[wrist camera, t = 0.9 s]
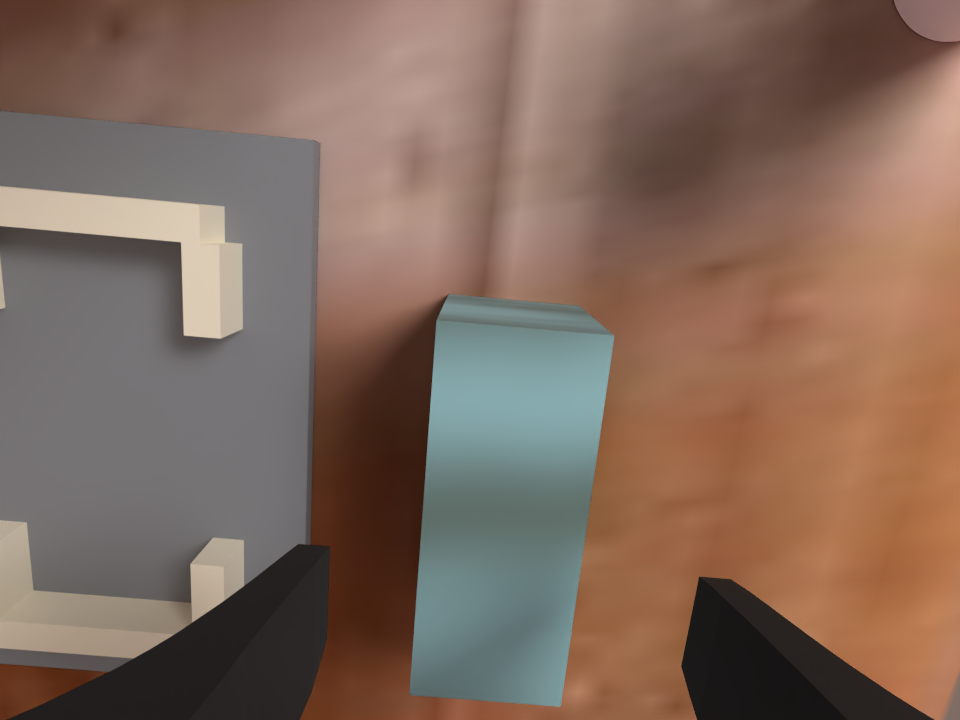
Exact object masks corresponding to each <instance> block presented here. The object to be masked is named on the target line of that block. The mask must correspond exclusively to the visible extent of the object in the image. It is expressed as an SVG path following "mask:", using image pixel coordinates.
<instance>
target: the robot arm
mask: <svg viewBox="0 0 960 720" xmlns="http://www.w3.org/2000/svg"><path fill="white" fill-rule="evenodd" d="M329 558H330V547H329V546H317V545H305V544H298V545H296V546H295V547H294V548H292V549H291V550H290V551H288V552H287V553H286V554H285V555H283V556H282V557H281V558H279V559H278V560H277V561H276V562H274V563H273V564H272V565H270V566H269V567H268V568H267V569H265V570H264V571H263V572H261V573H260V574H259V575H258V576H256V577H255V578H254V579H252V580H251V581H250V582H249V583H247V584H246V585H245V586H243V587H242V588H241V589H239V590H238V591H237V592H235V593H234V594H233V595H231V596H230V597H229V598H227V599H226V600H225V601H223V602H222V603H220V604H219V605H217V606H216V607H214V608H213V609H211V610H210V611H208V612H207V613H205V614H204V615H203V616H201V617H200V618H198V619H197V620H195V621H194V622H192V623H191V624H189V625H188V626H186V627H185V628H183V629H182V630H181V631H179V632H177V633H176V634H174V635H173V636H171V637H169V638H168V639H166V640H165V641H163V642H161V643H160V644H158V645H156V646H155V647H153V648H151V649H150V650H148V651H146V652H144V653H142V654H141V655H139V656H137V657H135V658H134V659H132V660H130V661H128V662H126V663H125V664H123V665H121V666H119V667H117V668H116V669H114V670H112V671H110V672H108V673H106V674H104V675H102V676H100V677H98V678H96V679H94V680H92V681H90V682H87V683H85V684H83V685H81V686H79V687H77V688H75V689H73V690H71V691H69V692H67V693H65V694H63V695H61V696H59V697H57V698H55V699H53V700H51V701H48V702H46V703H44V704H42V705H40V706H38V707H35V708H33V709H31V710H28V711H26V712H24V713H21V714H19V715H17V716H14V717H12V718H10V719H7V720H300V718H301V715H302V713H303V711H304V708H305V706H306V703H307V701H308V698H309V696H310V694H311V691H312V688H313V685H314V681H315V678H316V675H317V671H318V668H319V665H320V661H321V657H322V654H323V650H324V647H325V643H326V640H327V620H328V589H329ZM682 670H683V673H684V677H685V681H686V684H687V688H688V691H689V695H690V698H691V701H692V704H693V708H694V711H695V714H696V717H697V720H934V719H932V718H930V717H929V716H927V715H925V714H924V713H922V712H920V711H919V710H917V709H915V708H914V707H912V706H911V705H909V704H907V703H906V702H904V701H903V700H901V699H900V698H898V697H896V696H895V695H893V694H892V693H890V692H889V691H887V690H886V689H884V688H883V687H881V686H880V685H878V684H877V683H875V682H874V681H872V680H871V679H869V678H868V677H866V676H865V675H863V674H862V673H860V672H859V671H858V670H856V669H855V668H853V667H852V666H850V665H849V664H847V663H846V662H845V661H843V660H842V659H840V658H839V657H837V656H836V655H835V654H833V653H832V652H830V651H829V650H828V649H826V648H825V647H824V646H822V645H821V644H819V643H818V642H817V641H815V640H814V639H813V638H811V637H810V636H809V635H807V634H806V633H804V632H803V631H802V630H800V629H799V628H798V627H796V626H795V625H794V624H792V623H791V622H790V621H788V620H787V619H786V618H784V617H783V616H782V615H780V614H779V613H778V612H776V611H775V610H774V609H772V608H771V607H770V606H768V605H767V604H766V603H764V602H763V601H761V600H760V599H759V598H757V597H756V596H755V595H753V594H752V593H750V592H749V591H748V590H746V589H745V588H743V587H742V586H740V585H739V584H737V583H735V582H734V581H732V580H731V579H720V578H708V577H699V581H698V586H697V591H696V596H695V601H694V606H693V611H692V616H691V621H690V626H689V631H688V636H687V641H686V646H685V651H684V656H683V661H682Z"/></svg>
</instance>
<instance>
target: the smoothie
mask: <svg viewBox="0 0 960 720" xmlns="http://www.w3.org/2000/svg"><path fill="white" fill-rule="evenodd" d="M894 3H895V6H896V8H897V10H898V12H899V14H900V16H901V17H902V19H903V20H904V22H905V23H906V24H907V25H908V26H909V27H910V28H911V29H912V30H913V31H915V32H916V33H918V34H919V35H921V36H923V37H925V38H928V39H930V40H934V41H940V42H956V41H960V0H894Z"/></svg>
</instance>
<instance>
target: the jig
mask: <svg viewBox="0 0 960 720" xmlns="http://www.w3.org/2000/svg"><path fill="white" fill-rule="evenodd" d="M319 170H320V143H319V142H317V141H315V140H307V139H296V138H285V137H275V136H264V135H253V134H242V133H232V132H221V131H210V130H200V129H189V128H178V127H168V126H157V125H146V124H136V123H125V122H114V121H103V120H93V119H82V118H71V117H61V116H50V115H39V114H29V113H18V112H7V111H0V664H13V665H26V666H39V667H51V668H64V669H77V670H90V671H103V672H110V671H112V670H114V669H116V668H117V667H119V666H121V665H123V664H125V663H126V662H128V661H130V660H132V659H134V658H135V657H137V656H139V655H141V654H142V653H144V652H146V651H148V650H150V649H151V648H153V647H155V646H156V645H158V644H160V643H161V642H163V641H165V640H166V639H168V638H169V637H171V636H173V635H174V634H176V633H177V632H179V631H181V630H182V629H183V628H185V627H186V626H188V625H189V624H191V623H192V622H194V621H195V620H197V619H198V618H200V617H201V616H203V615H204V614H205V613H207V612H208V611H210V610H211V609H213V608H214V607H216V606H217V605H219V604H220V603H222V602H223V601H225V600H226V599H227V598H229V597H230V596H231V595H233V594H234V593H235V592H237V591H238V590H239V589H241V588H242V587H243V586H245V585H246V584H247V583H249V582H250V581H251V580H252V579H254V578H255V577H256V576H258V575H259V574H260V573H261V572H263V571H264V570H265V569H267V568H268V567H269V566H270V565H272V564H273V563H274V562H276V561H277V560H278V559H279V558H281V557H282V556H283V555H285V554H286V553H287V552H288V551H290V550H291V549H292V548H294V547H295V546H296V545H298V544H305V545H310V542H311V500H312V459H313V418H314V376H315V335H316V294H317V253H318V211H319Z"/></svg>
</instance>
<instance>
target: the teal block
mask: <svg viewBox="0 0 960 720" xmlns="http://www.w3.org/2000/svg"><path fill="white" fill-rule="evenodd" d="M613 342H614V335H613V334H612V333H610V332H609V331H608V330H607V329H606V328H605V327H603V326H602V325H601V324H600V323H599V322H598V321H596V320H595V319H594V318H593V317H592V316H590V315H589V314H588V313H587V312H586V311H585V310H583V309H582V308H581V307H580V306H576V305H564V304H553V303H542V302H531V301H519V300H508V299H497V298H486V297H475V296H463V295H452V294H448V297H447V299H446V301H445V303H444V305H443V307H442V310H441V312H440V314H439V316H438V318H437V321H436V335H435V349H434V362H433V376H432V390H431V404H430V418H429V432H428V445H427V459H426V473H425V487H424V501H423V514H422V528H421V542H420V556H419V570H418V583H417V597H416V611H415V625H414V639H413V653H412V666H411V680H410V694H409V695H416V696H429V697H442V698H455V699H468V700H481V701H494V702H507V703H520V704H533V705H546V706H559V707H561V701H562V694H563V687H564V680H565V673H566V666H567V659H568V653H569V646H570V639H571V632H572V625H573V618H574V611H575V604H576V597H577V590H578V584H579V577H580V570H581V563H582V556H583V549H584V542H585V535H586V528H587V521H588V514H589V508H590V501H591V494H592V487H593V480H594V473H595V466H596V459H597V452H598V445H599V438H600V432H601V425H602V418H603V411H604V404H605V397H606V390H607V383H608V376H609V369H610V362H611V356H612V349H613Z"/></svg>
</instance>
